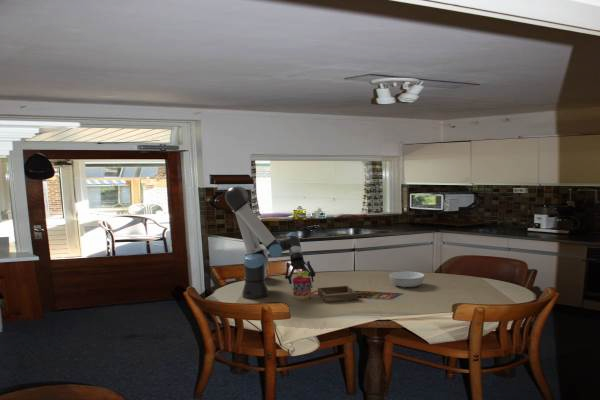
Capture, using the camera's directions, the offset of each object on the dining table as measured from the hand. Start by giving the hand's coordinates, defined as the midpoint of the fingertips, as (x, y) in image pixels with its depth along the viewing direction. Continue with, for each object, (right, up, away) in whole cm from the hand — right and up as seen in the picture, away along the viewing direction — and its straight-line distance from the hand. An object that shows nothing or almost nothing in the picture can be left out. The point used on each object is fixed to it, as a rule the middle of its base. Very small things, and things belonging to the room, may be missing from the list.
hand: (302, 287), depth 261 cm
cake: (0, -6, +2) cm, 7 cm away
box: (+19, -6, 0) cm, 20 cm away
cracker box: (-28, -4, +51) cm, 58 cm away
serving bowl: (+64, -3, +23) cm, 68 cm away
